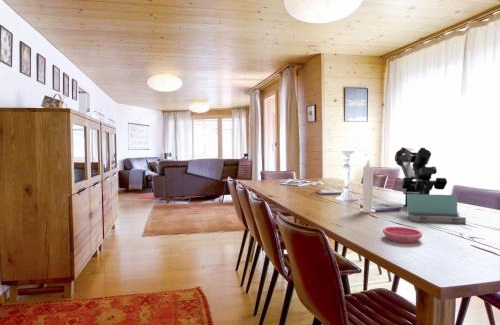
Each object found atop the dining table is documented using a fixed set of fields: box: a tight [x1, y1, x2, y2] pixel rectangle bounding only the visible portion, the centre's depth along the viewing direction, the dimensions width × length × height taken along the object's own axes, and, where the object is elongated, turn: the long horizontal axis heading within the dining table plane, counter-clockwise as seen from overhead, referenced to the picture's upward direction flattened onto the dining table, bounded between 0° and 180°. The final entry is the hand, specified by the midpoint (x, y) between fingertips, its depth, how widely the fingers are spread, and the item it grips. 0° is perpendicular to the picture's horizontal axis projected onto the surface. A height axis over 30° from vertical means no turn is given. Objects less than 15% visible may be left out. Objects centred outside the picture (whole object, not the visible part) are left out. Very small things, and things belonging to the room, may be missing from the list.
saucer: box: [382, 226, 423, 244], centre depth 116 cm, size 12×12×3 cm
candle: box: [359, 159, 376, 214], centre depth 161 cm, size 7×7×25 cm
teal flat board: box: [407, 212, 467, 225], centre depth 142 cm, size 9×20×2 cm, turn 80°
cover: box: [406, 194, 458, 214], centre depth 147 cm, size 8×20×1 cm
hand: (427, 197), depth 153 cm, fingers closed
